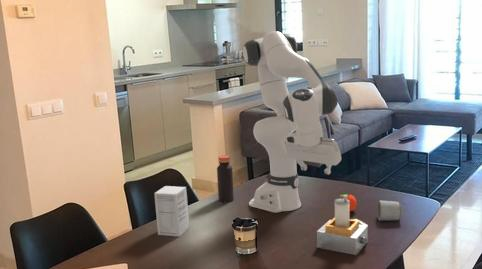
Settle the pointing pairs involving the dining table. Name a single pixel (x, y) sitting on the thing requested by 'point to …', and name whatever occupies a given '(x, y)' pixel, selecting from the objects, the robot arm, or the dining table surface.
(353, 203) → the clementine
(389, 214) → the ceramic mug
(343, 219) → the spout can
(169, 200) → the supplement box
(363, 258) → the dining table surface
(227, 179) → the bottle
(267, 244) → the dining table surface
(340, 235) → the block
